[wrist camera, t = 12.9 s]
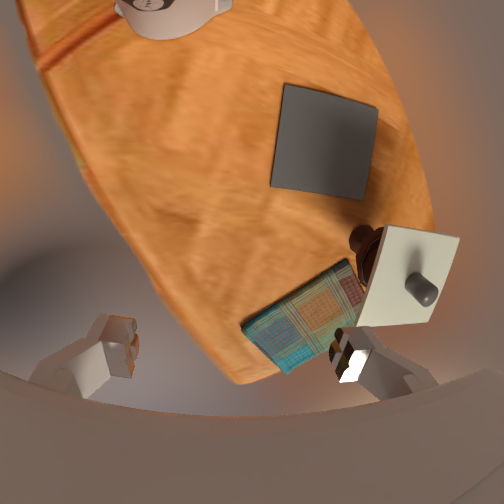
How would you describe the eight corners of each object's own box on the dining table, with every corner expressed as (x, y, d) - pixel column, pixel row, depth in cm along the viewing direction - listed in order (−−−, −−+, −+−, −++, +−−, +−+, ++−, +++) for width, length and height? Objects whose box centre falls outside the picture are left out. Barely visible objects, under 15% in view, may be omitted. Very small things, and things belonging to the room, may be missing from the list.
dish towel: (237, 324, 52) (238, 332, 49) (344, 255, 48) (349, 261, 46) (282, 369, 58) (284, 378, 56) (373, 314, 55) (378, 320, 53)
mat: (284, 85, 36) (285, 84, 35) (376, 109, 38) (378, 109, 37) (270, 186, 42) (270, 186, 41) (361, 200, 44) (363, 200, 43)
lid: (385, 223, 30) (408, 238, 25) (456, 236, 32) (478, 249, 27) (353, 323, 35) (368, 346, 30) (425, 319, 37) (441, 336, 32)
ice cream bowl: (383, 202, 45) (438, 231, 31) (388, 257, 49) (434, 297, 35) (330, 219, 45) (375, 255, 31) (340, 275, 49) (378, 324, 36)
